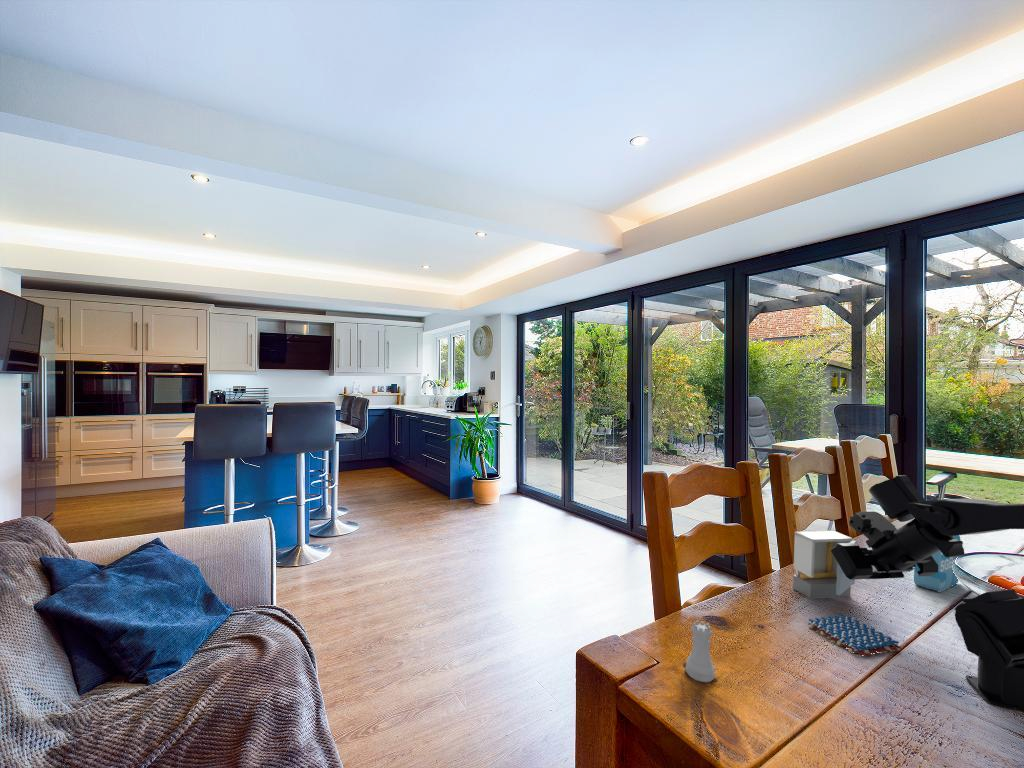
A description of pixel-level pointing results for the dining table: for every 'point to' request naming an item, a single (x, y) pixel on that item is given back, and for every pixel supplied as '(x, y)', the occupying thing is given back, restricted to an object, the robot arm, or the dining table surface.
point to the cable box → (817, 563)
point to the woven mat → (854, 635)
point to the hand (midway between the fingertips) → (855, 576)
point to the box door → (843, 579)
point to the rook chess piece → (700, 654)
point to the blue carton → (938, 573)
